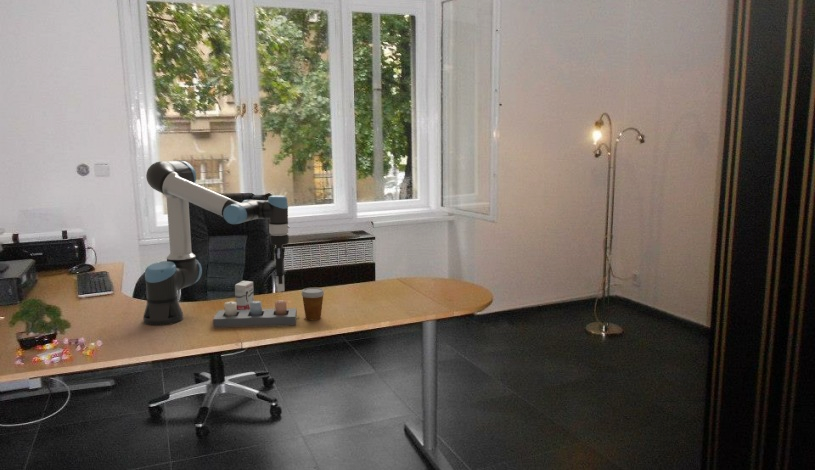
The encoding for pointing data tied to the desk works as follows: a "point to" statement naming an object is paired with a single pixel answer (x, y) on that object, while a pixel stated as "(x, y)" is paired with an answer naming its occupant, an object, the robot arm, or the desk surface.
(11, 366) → the desk surface
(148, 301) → the robot arm
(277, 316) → the button panel
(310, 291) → the disposable coffee cup
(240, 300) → the ink box
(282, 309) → the pink rounded piece
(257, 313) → the slate button
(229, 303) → the cream button
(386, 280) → the desk surface
